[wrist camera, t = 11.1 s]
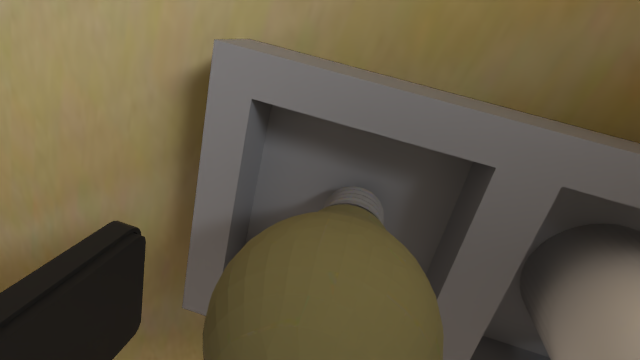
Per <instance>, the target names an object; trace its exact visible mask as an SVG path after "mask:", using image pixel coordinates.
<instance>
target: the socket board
mask: <svg viewBox="0 0 640 360" xmlns="http://www.w3.org/2000/svg"><path fill="white" fill-rule="evenodd" d="M352 186H355V187H360V188H364V189H366V190H368V191H370V192H372V193H373V194H374V195H375V196H376V197H377V198H378V199H379V201H380V203H381V205H382V207H383V210H384V227H385V229H386V231H388V232H389V233H390V234H391V235H393V236H394V237H395V238H396V239H397V240H398V241H399V242H401V243H402V244H403V245H404V246H405V247H406V248H407V249H408V251H409V252H410V253H411V254H412V255H413V256H414V257H415V258H416V260H417V262H418V263H419V265H420V266H421V268H422V270H423V271H424V273H425V275H426V276H427V278H428V280H429V282H430V284H431V287H432V289H433V291H434V293H435V295H436V299H437V303H438V307H439V312H440V316H441V321H442V325H443V335H444V340H443V360H551V359H550V357H549V355H548V353H547V351H546V349H545V346H544V344H543V342H542V340H541V338H540V336H539V334H538V332H537V329H536V327H535V325H534V323H533V321H532V319H531V317H530V314H529V312H528V310H527V308H526V306H525V304H524V301H523V299H522V296H521V292H520V278H521V274H522V270H523V268H524V266H525V263H526V262H527V260H528V258H529V257H530V256H531V254H532V253H533V252H534V251H535V250H536V249H537V248H538V247H539V246H540V245H541V244H542V243H544V242H545V241H546V240H548V239H549V238H551V237H553V236H554V235H556V234H558V233H560V232H563V231H565V230H567V229H571V228H574V227H577V226H582V225H587V224H616V225H621V226H626V227H629V228H632V229H635V230H638V231H640V143H636V142H632V141H629V140H625V139H621V138H617V137H614V136H610V135H606V134H602V133H599V132H595V131H591V130H587V129H584V128H580V127H576V126H573V125H569V124H565V123H561V122H558V121H554V120H550V119H546V118H543V117H539V116H535V115H531V114H528V113H524V112H520V111H516V110H513V109H509V108H505V107H501V106H498V105H494V104H490V103H487V102H483V101H479V100H475V99H472V98H468V97H464V96H460V95H457V94H453V93H449V92H445V91H442V90H438V89H434V88H430V87H427V86H423V85H419V84H416V83H412V82H408V81H404V80H401V79H397V78H393V77H389V76H386V75H382V74H378V73H374V72H371V71H367V70H363V69H359V68H356V67H352V66H348V65H344V64H341V63H337V62H333V61H330V60H326V59H322V58H318V57H315V56H311V55H307V54H303V53H300V52H296V51H292V50H288V49H285V48H281V47H277V46H273V45H270V44H266V43H262V42H258V41H255V40H251V39H216V40H214V47H213V55H212V63H211V72H210V80H209V88H208V97H207V105H206V113H205V122H204V130H203V138H202V147H201V155H200V163H199V172H198V180H197V188H196V197H195V205H194V213H193V222H192V230H191V238H190V247H189V255H188V263H187V272H186V280H185V288H184V297H183V305H182V308H184V309H187V310H190V311H193V312H196V313H199V314H202V315H205V316H206V314H207V310H208V306H209V302H210V299H211V295H212V293H213V291H214V288H215V286H216V284H217V282H218V281H219V279H220V277H221V275H222V273H223V271H224V269H225V268H226V266H227V265H228V263H229V262H230V261H231V260H232V259H233V258H234V256H235V255H236V254H237V253H238V252H239V251H240V250H241V249H242V248H243V247H244V246H245V244H246V243H247V242H248V241H249V240H251V239H252V238H254V237H255V236H256V235H258V234H259V233H261V232H262V231H264V230H265V229H267V228H268V227H270V226H272V225H274V224H276V223H277V222H279V221H282V220H285V219H287V218H290V217H293V216H297V215H301V214H305V213H311V212H318V211H319V210H321V209H323V207H324V205H325V202H326V200H327V199H328V197H329V196H330V195H331V194H332V193H333V192H335V191H336V190H338V189H341V188H344V187H352Z"/></svg>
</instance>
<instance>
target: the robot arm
mask: <svg viewBox="0 0 640 360" xmlns="http://www.w3.org/2000/svg"><path fill="white" fill-rule="evenodd" d="M145 244H146V241H145V237H143V236H141V231H140V229H139V228H137V227H134V226H131V225H128V224H125V223H122V222H119V221H113V222H111V223H109V224H107V225H106V226H104V227H103V228H101V229H99V230H98V231H96V232H95V233H93V234H92V235H90V236H89V237H87V238H85V239H84V240H82V241H81V242H79V243H78V244H76V245H75V246H73V247H71V248H70V249H68V250H67V251H65V252H64V253H62V254H60V255H59V256H57V257H56V258H54V259H53V260H51V261H50V262H48V263H46V264H45V265H43V266H42V267H40V268H39V269H37V270H36V271H34V272H32V273H31V274H29V275H28V276H26V277H25V278H23V279H22V280H20V281H18V282H17V283H15V284H14V285H12V286H11V287H9V288H8V289H6V290H4V291H3V292H1V293H0V360H112V359H113V358H114V357H115V356H116V355H117V354H118V353H119V352H120V351H121V349H122V348H123V347H124V346H125V345H126V344H127V343H128V342H129V341H130V339H131V338H132V337H133V336H134V335H135V333H136V332H137V330H138V328H139V325H140V322H141V311H142V294H143V277H144V261H145Z"/></svg>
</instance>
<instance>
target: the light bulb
mask: <svg viewBox="0 0 640 360" xmlns="http://www.w3.org/2000/svg"><path fill="white" fill-rule="evenodd" d="M443 340H444V335H443V325H442V321H441V316H440V312H439V307H438V303H437V299H436V295H435V293H434V291H433V289H432V287H431V284H430V282H429V280H428V278H427V276H426V275H425V273H424V271H423V270H422V268H421V266H420V265H419V263H418V262H417V260H416V258H415V257H414V256H413V255H412V254H411V253H410V252H409V251H408V249H407V248H406V247H405V246H404V245H403V244H402V243H401V242H399V241H398V240H397V239H396V238H395V237H394V236H393V235H391V234H390V233H389V232H388V231H386V229H385V227H384V210H383V207H382V205H381V203H380V201H379V199H378V198H377V197H376V196H375V195H374V194H373V193H372V192H370V191H368V190H366V189H364V188H360V187H355V186H352V187H344V188H341V189H338V190H336V191H335V192H333V193H332V194H331V195H330V196H329V197H328V199H327V200H326V202H325V205H324V207H323V209H321V210H319V211H318V212H311V213H305V214H301V215H297V216H293V217H290V218H287V219H285V220H282V221H279V222H277V223H276V224H274V225H272V226H270V227H268V228H267V229H265V230H264V231H262V232H261V233H259V234H258V235H256V236H255V237H254V238H252V239H251V240H249V241H248V242H247V243H246V244H245V246H244V247H243V248H242V249H241V250H240V251H239V252H238V253H237V254H236V255H235V256H234V258H233V259H232V260H231V261H230V262H229V263H228V265H227V266H226V268H225V269H224V271H223V273H222V275H221V277H220V279H219V281H218V282H217V284H216V286H215V288H214V291H213V293H212V295H211V299H210V302H209V306H208V310H207V314H206V318H205V323H204V330H203V355H204V360H443Z"/></svg>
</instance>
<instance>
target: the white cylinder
mask: <svg viewBox="0 0 640 360" xmlns="http://www.w3.org/2000/svg"><path fill="white" fill-rule="evenodd" d="M520 292H521V296H522V299H523V301H524V304H525V306H526V308H527V310H528V312H529V314H530V317H531V319H532V321H533V323H534V325H535V327H536V329H537V332H538V334H539V336H540V338H541V340H542V342H543V344H544V346H545V349H546V351H547V353H548V355H549V357H550V359H551V360H640V231H638V230H635V229H632V228H629V227H626V226H621V225H616V224H587V225H582V226H577V227H574V228H571V229H567V230H565V231H563V232H560V233H558V234H556V235H554V236H553V237H551V238H549V239H548V240H546V241H545V242H544V243H542V244H541V245H540V246H539V247H538V248H537V249H536V250H535V251H534V252H533V253H532V254H531V256H530V257H529V258H528V260H527V262H526V263H525V266H524V268H523V270H522V274H521V278H520Z"/></svg>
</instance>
